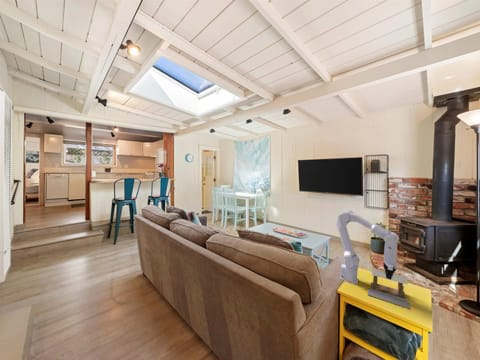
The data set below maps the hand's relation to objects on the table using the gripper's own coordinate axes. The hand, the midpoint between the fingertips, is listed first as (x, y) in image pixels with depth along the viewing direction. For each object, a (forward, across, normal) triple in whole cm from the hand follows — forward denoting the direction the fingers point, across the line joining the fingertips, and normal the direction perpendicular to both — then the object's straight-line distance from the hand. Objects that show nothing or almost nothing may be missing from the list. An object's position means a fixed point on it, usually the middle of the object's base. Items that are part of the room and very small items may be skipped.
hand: (388, 277), depth 113 cm
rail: (0, 0, 0) cm, 1 cm away
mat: (+10, -4, 0) cm, 11 cm away
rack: (+10, +4, 0) cm, 11 cm away
